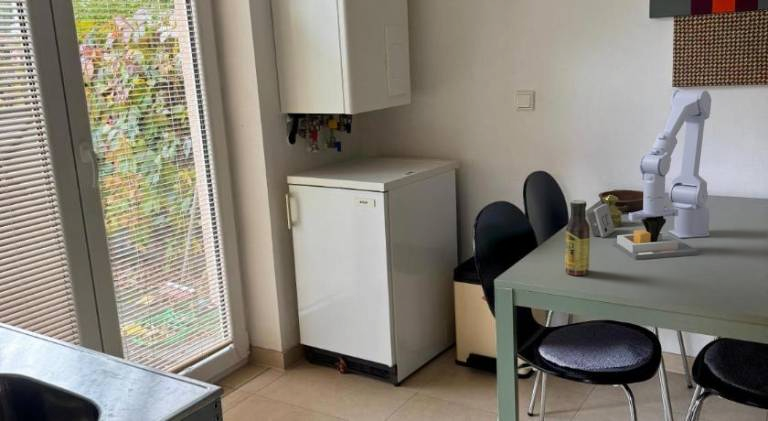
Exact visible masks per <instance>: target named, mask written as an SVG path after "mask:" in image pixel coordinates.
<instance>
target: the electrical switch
mask: <svg viewBox="0 0 768 421" xmlns="http://www.w3.org/2000/svg"><path fill="white" fill-rule="evenodd" d="M586 217H587V218H588V224H589V227H590V230H591V233H592V237H599V236H600V237H601V239H603V238H605V237H606V238H607V237H608V236H609V235H611V234H612V233H614V232H615V227H614V225H613V221H612V218H611V214H610V211H609V207H608V204H603V205H599V206H598V207H595V208H594V209H592V210H590V211H588V212H586Z"/></svg>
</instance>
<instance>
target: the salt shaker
mask: <svg viewBox="0 0 768 421" xmlns="http://www.w3.org/2000/svg"><path fill="white" fill-rule="evenodd" d="M603 201H605V203H606V204H608V207H609V211H610V214H611V218H612V221H613V225H614V228H618V227H621V226H622V224H623V222H622V221H623V218H622V215H623V212H621V211H620V210H619V209H618V208H617V207H616V206H615V203H616V202H617V201H618V198H617V197H615V196H613V195H608V196H606V197H604V198H603Z"/></svg>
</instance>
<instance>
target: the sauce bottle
mask: <svg viewBox="0 0 768 421" xmlns="http://www.w3.org/2000/svg"><path fill="white" fill-rule="evenodd" d="M569 205H570V206H569V207H570V218H569V220H568V222H567V225H566V228H565V239H564V241H565V243H564V245H565V247H564V248H565V249H564V250H565V251H564V254H565V255H564V257H565V258H564V267H565V273H567V274H569V275H571V276H585V275H587V274H588V273H589V268H590V248H591V247H590V245H591V244H590V242H591V240H590V238H591V236H590V230H591V227H590V223H589V221H588V220H587V219H586V217H587V214H586V213H587V212H586V210H587V209H586V208H587V201H586V200H585V199H573V200H571V201H570V204H569Z"/></svg>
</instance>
